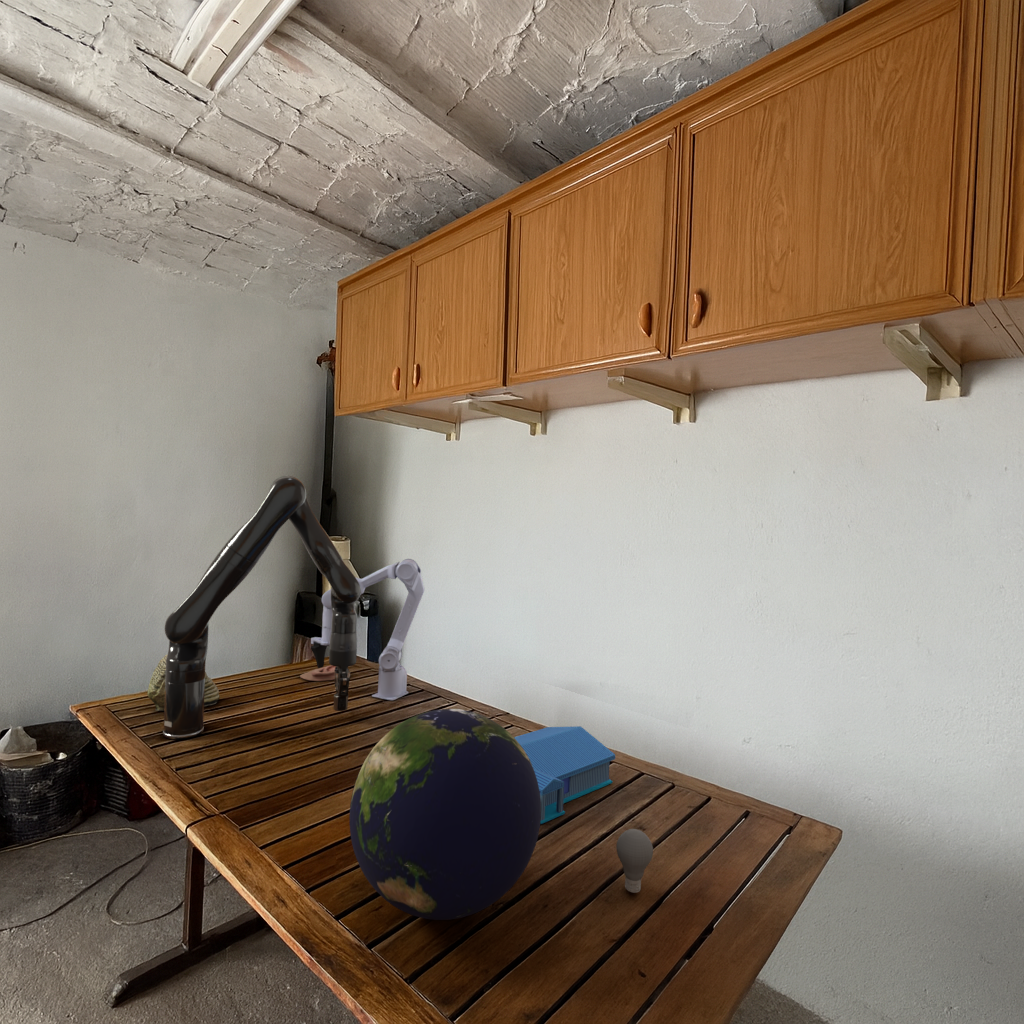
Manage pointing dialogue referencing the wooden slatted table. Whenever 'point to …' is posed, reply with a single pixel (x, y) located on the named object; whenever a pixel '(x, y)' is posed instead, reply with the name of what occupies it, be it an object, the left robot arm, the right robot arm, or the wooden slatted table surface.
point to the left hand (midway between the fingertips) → (340, 707)
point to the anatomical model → (320, 674)
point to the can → (337, 703)
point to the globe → (445, 814)
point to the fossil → (158, 687)
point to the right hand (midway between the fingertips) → (330, 669)
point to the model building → (565, 765)
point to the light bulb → (634, 857)
